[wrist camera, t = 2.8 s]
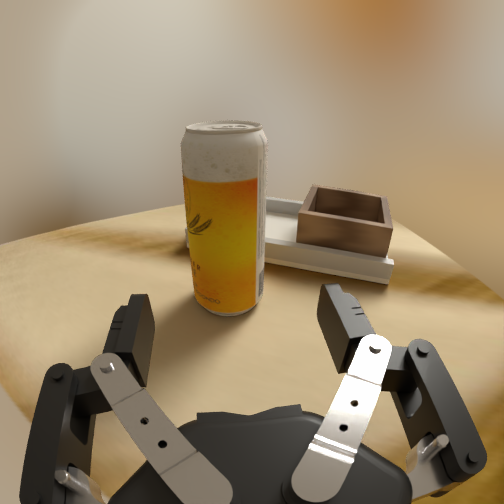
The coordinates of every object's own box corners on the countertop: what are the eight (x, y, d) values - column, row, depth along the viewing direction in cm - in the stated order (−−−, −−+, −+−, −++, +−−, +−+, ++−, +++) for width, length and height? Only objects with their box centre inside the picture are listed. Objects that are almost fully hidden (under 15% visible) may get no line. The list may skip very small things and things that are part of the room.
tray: (186, 247, 36) (184, 227, 34) (228, 206, 46) (228, 190, 44) (388, 284, 29) (394, 262, 28) (383, 231, 40) (387, 214, 38)
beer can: (204, 275, 31) (194, 120, 23) (265, 280, 30) (270, 120, 23) (187, 316, 26) (166, 132, 18) (259, 323, 25) (264, 132, 17)
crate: (295, 252, 33) (298, 212, 31) (309, 217, 41) (312, 184, 38) (383, 268, 30) (393, 228, 28) (380, 229, 38) (386, 196, 36)
